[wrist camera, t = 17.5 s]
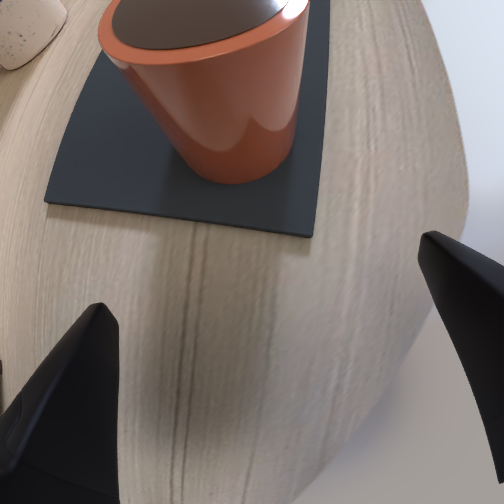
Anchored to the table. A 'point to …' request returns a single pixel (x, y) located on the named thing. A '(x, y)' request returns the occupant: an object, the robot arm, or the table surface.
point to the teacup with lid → (27, 29)
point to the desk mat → (172, 165)
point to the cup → (214, 77)
